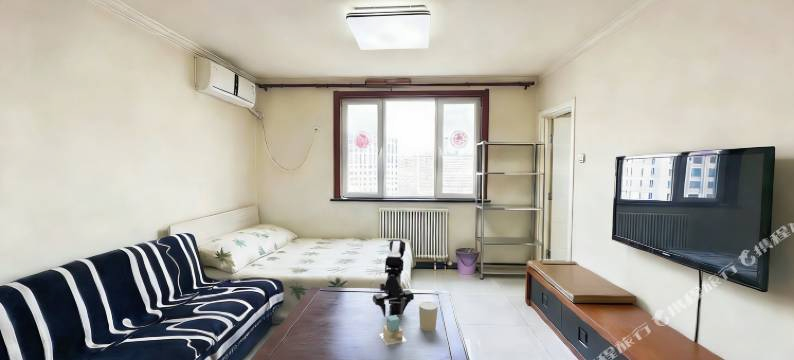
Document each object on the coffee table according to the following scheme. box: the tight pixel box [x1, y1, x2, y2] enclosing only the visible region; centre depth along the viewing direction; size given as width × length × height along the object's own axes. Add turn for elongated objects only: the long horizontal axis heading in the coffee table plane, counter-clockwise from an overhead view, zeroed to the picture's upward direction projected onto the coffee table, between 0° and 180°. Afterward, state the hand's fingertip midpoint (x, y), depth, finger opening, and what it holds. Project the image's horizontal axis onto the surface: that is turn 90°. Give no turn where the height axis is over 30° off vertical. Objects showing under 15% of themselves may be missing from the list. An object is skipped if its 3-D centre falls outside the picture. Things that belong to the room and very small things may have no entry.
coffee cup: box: [418, 301, 439, 333], centre depth 159 cm, size 9×9×12 cm
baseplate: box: [379, 332, 407, 346], centre depth 150 cm, size 10×10×1 cm
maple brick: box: [382, 324, 404, 343], centre depth 149 cm, size 7×7×4 cm
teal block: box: [386, 315, 400, 331], centre depth 149 cm, size 4×4×5 cm
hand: (393, 315), depth 149 cm, fingers open, 8 cm apart
